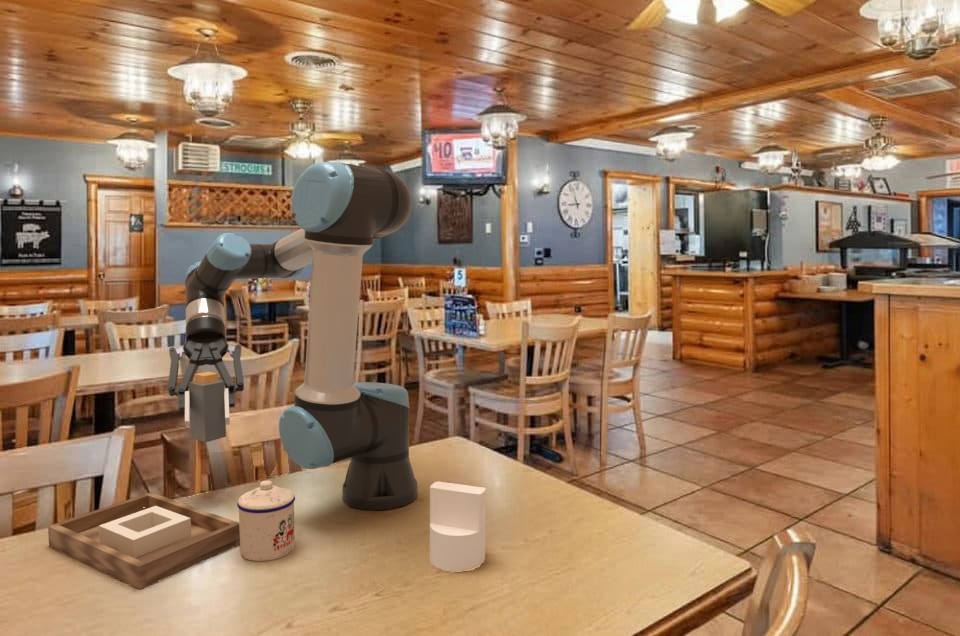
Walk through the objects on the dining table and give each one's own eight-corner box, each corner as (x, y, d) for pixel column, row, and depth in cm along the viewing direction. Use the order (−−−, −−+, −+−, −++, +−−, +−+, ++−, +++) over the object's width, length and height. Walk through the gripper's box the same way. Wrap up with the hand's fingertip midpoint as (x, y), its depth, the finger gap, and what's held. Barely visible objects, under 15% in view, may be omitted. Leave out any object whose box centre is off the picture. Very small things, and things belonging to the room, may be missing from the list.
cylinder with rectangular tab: (492, 551, 108) (493, 481, 107) (474, 576, 100) (474, 501, 99) (442, 543, 111) (442, 475, 110) (420, 567, 103) (420, 493, 102)
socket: (191, 534, 111) (190, 518, 111) (134, 558, 103) (133, 540, 102) (156, 521, 116) (155, 505, 116) (99, 542, 108) (98, 525, 107)
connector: (226, 436, 127) (223, 373, 125) (205, 442, 123) (202, 377, 122) (211, 432, 129) (209, 370, 128) (191, 438, 126) (188, 374, 124)
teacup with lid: (283, 564, 103) (281, 493, 102) (228, 561, 104) (226, 490, 103) (310, 532, 115) (309, 468, 114) (261, 529, 116) (259, 466, 115)
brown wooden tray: (241, 543, 110) (241, 523, 110) (139, 589, 95) (138, 566, 95) (151, 510, 124) (150, 492, 124) (49, 546, 109) (47, 526, 108)
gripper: (253, 334, 142) (260, 427, 129) (155, 338, 135) (152, 437, 122) (254, 313, 136) (261, 408, 123) (152, 316, 129) (148, 417, 116)
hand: (207, 422), depth 122 cm, fingers closed on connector, 6 cm apart
